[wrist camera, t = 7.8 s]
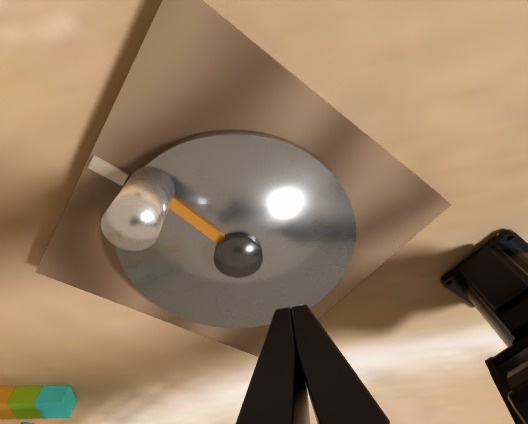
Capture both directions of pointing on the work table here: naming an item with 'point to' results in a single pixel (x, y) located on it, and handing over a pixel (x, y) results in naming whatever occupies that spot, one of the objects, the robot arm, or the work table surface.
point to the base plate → (226, 118)
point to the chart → (36, 402)
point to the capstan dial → (232, 228)
